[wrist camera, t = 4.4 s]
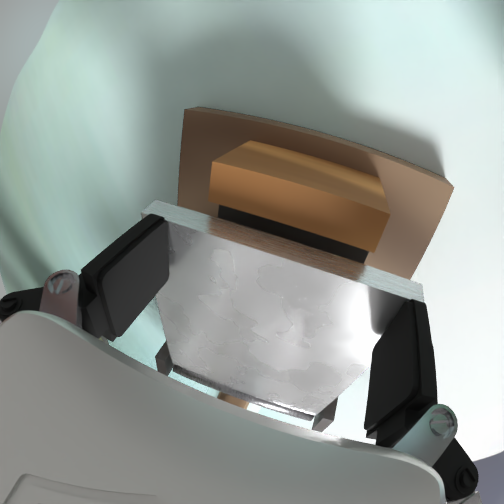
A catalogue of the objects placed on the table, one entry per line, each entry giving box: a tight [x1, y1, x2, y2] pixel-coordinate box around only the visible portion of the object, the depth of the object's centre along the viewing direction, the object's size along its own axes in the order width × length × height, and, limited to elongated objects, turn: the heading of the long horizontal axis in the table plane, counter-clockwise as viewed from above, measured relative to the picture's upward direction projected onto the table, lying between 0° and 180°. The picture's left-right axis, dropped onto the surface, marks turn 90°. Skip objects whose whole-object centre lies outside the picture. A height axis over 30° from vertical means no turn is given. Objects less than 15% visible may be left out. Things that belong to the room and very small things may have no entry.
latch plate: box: [155, 107, 454, 432], centre depth 17 cm, size 19×14×6 cm
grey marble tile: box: [141, 200, 424, 421], centre depth 15 cm, size 15×11×2 cm
